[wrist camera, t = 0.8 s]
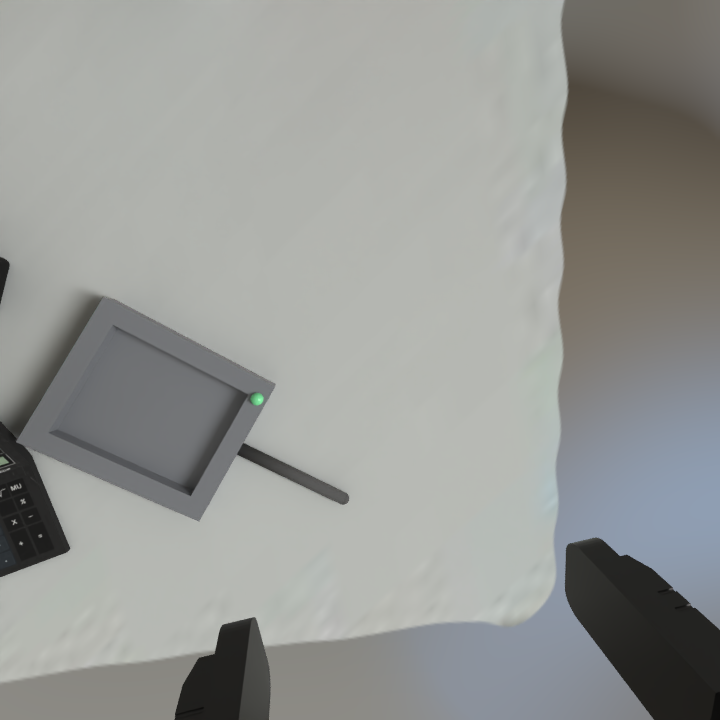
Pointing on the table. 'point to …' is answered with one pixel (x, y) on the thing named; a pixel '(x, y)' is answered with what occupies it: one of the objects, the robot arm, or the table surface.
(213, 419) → the charging cradle
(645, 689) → the robot arm
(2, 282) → the battery
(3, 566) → the calculator
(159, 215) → the table surface
